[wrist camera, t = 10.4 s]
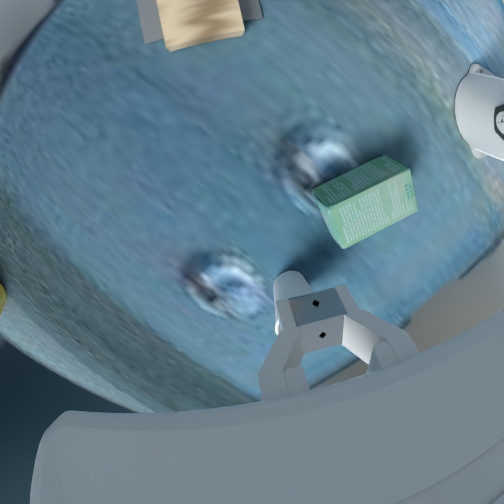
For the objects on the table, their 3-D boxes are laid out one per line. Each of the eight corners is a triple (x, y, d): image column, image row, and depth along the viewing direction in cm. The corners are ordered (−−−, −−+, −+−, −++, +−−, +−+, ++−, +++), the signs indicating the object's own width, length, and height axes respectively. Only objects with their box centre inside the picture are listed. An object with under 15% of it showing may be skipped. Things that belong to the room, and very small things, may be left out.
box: (308, 189, 40) (326, 210, 34) (383, 152, 38) (411, 166, 32) (325, 227, 44) (343, 253, 38) (394, 191, 42) (419, 210, 35)
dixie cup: (255, 285, 48) (263, 328, 40) (292, 255, 46) (309, 295, 37) (285, 308, 52) (297, 349, 44) (320, 281, 50) (339, 321, 41)
